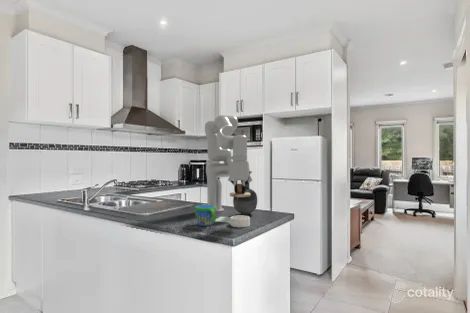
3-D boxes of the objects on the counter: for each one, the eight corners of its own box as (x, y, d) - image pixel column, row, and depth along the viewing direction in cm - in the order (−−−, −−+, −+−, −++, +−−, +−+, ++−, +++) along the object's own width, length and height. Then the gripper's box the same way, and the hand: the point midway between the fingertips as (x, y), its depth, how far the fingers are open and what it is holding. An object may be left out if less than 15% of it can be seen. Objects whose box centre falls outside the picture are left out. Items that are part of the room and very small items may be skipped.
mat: (212, 222, 163) (212, 221, 163) (220, 217, 175) (220, 216, 175) (233, 223, 160) (233, 222, 160) (239, 219, 171) (239, 218, 171)
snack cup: (221, 226, 153) (221, 207, 153) (204, 230, 147) (204, 209, 147) (206, 221, 166) (206, 203, 166) (189, 223, 159) (189, 205, 159)
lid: (226, 196, 152) (226, 184, 152) (233, 193, 162) (233, 182, 162) (247, 197, 148) (247, 185, 148) (252, 194, 158) (252, 183, 158)
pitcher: (259, 214, 183) (259, 166, 183) (242, 220, 168) (242, 168, 167) (244, 212, 190) (245, 166, 189) (227, 218, 174) (227, 167, 174)
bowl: (228, 227, 152) (228, 218, 152) (234, 222, 162) (234, 214, 161) (246, 228, 149) (246, 220, 149) (251, 224, 158) (251, 216, 158)
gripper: (222, 158, 154) (223, 193, 154) (253, 158, 149) (253, 194, 149) (227, 158, 161) (227, 191, 161) (256, 158, 156) (256, 193, 156)
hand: (240, 193), depth 155 cm, fingers closed on lid, 3 cm apart
